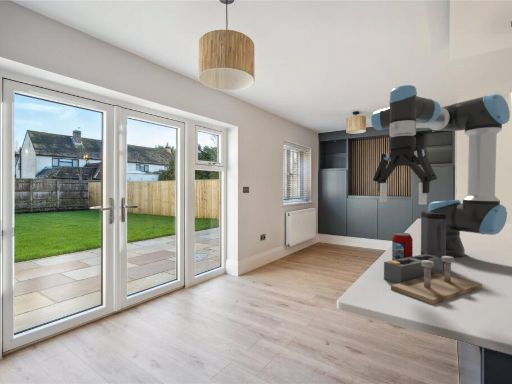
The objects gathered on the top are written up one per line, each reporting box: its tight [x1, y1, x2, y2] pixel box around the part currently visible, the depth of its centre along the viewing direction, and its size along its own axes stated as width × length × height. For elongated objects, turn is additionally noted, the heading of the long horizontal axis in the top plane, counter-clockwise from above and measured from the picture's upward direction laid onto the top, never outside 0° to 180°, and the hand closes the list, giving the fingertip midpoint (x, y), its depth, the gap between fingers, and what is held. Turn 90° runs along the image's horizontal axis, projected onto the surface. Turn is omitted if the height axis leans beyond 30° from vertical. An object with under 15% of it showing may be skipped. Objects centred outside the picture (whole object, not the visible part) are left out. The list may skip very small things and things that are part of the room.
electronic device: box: [420, 210, 446, 271], centre depth 104 cm, size 9×6×20 cm, turn 168°
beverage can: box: [391, 232, 414, 261], centre depth 106 cm, size 7×7×12 cm
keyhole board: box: [390, 256, 483, 305], centre depth 82 cm, size 24×12×8 cm, turn 118°
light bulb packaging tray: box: [383, 254, 444, 284], centre depth 93 cm, size 22×6×6 cm, turn 118°
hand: (401, 203), depth 90 cm, fingers open, 13 cm apart
